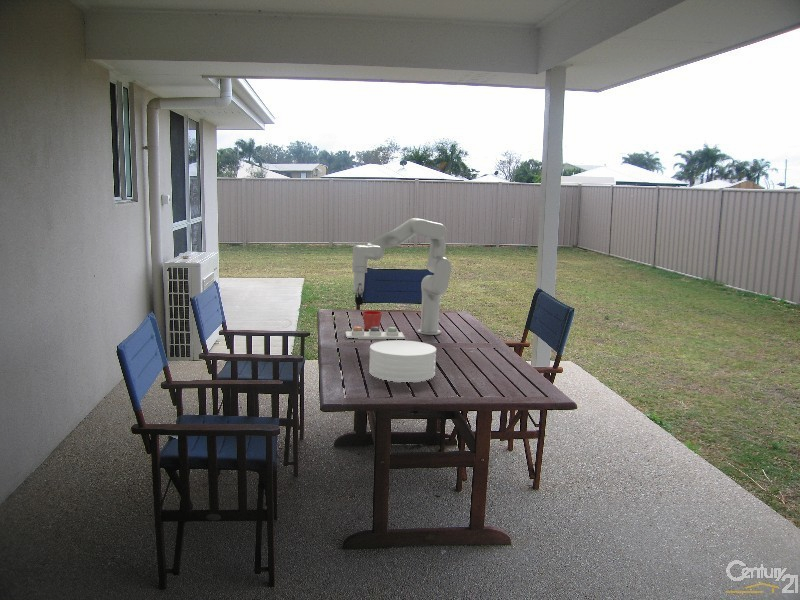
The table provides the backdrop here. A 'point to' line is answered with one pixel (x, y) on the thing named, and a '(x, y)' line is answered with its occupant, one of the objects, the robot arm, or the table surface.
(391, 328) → the sage button
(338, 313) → the table surface
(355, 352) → the table surface
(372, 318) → the flower pot
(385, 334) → the button board
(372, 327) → the charcoal button
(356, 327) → the terracotta button
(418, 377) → the plate stack
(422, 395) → the table surface
